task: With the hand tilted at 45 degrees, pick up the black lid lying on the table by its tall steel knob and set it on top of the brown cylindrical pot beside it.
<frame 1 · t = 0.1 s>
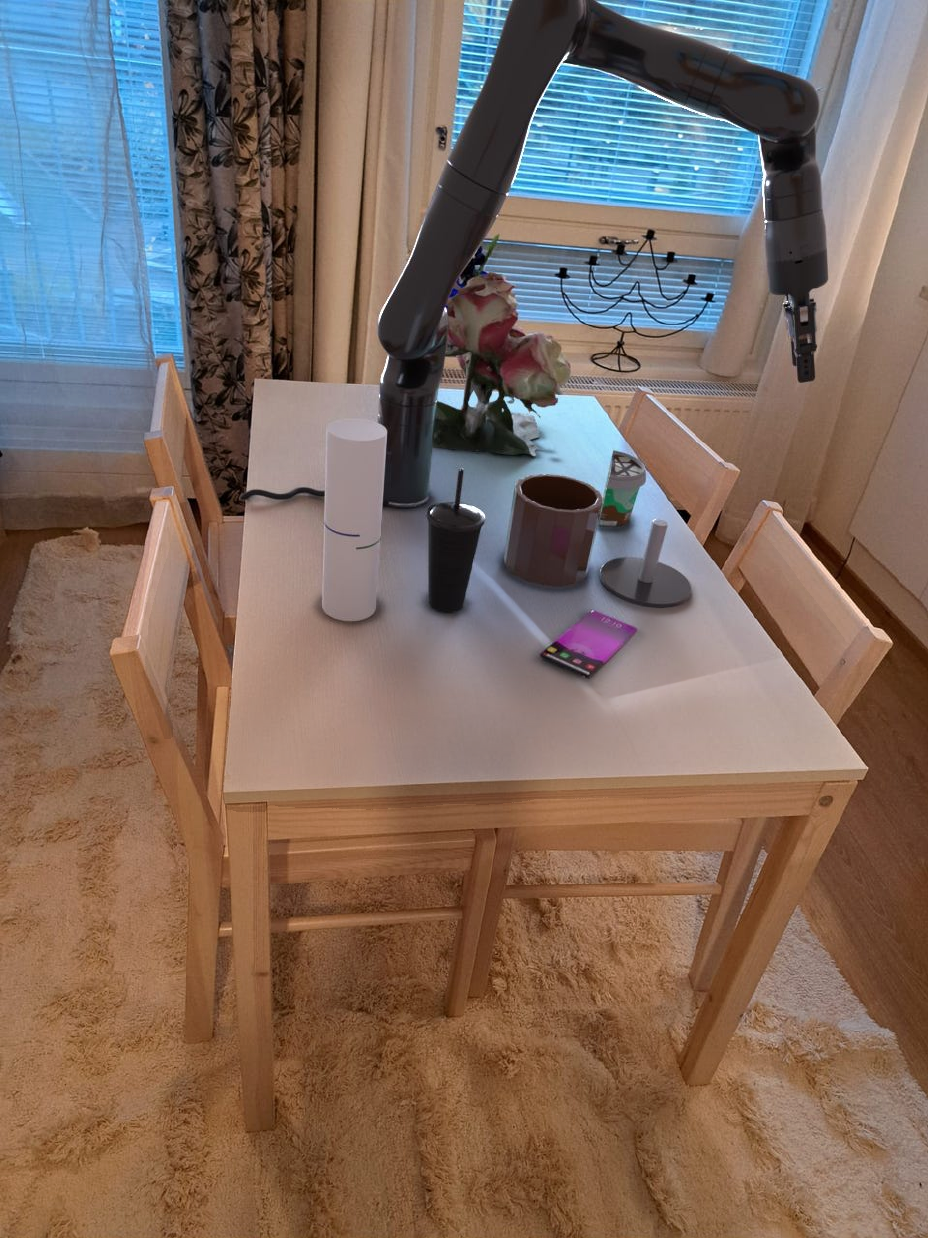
hand: (803, 372, 122), 31 cm above the table, tool tilted 20°, fingers open, 8 cm apart
lid: (644, 582, 131), point 1 cm above the table
rose bouquet: (484, 430, 178), on the table
brown cylindrical pot: (545, 567, 132), on the table
food container: (617, 520, 149), on the table
drinking cup: (445, 604, 121), on the table
smartphone: (589, 646, 116), on the table
cylindrical container: (348, 607, 117), on the table
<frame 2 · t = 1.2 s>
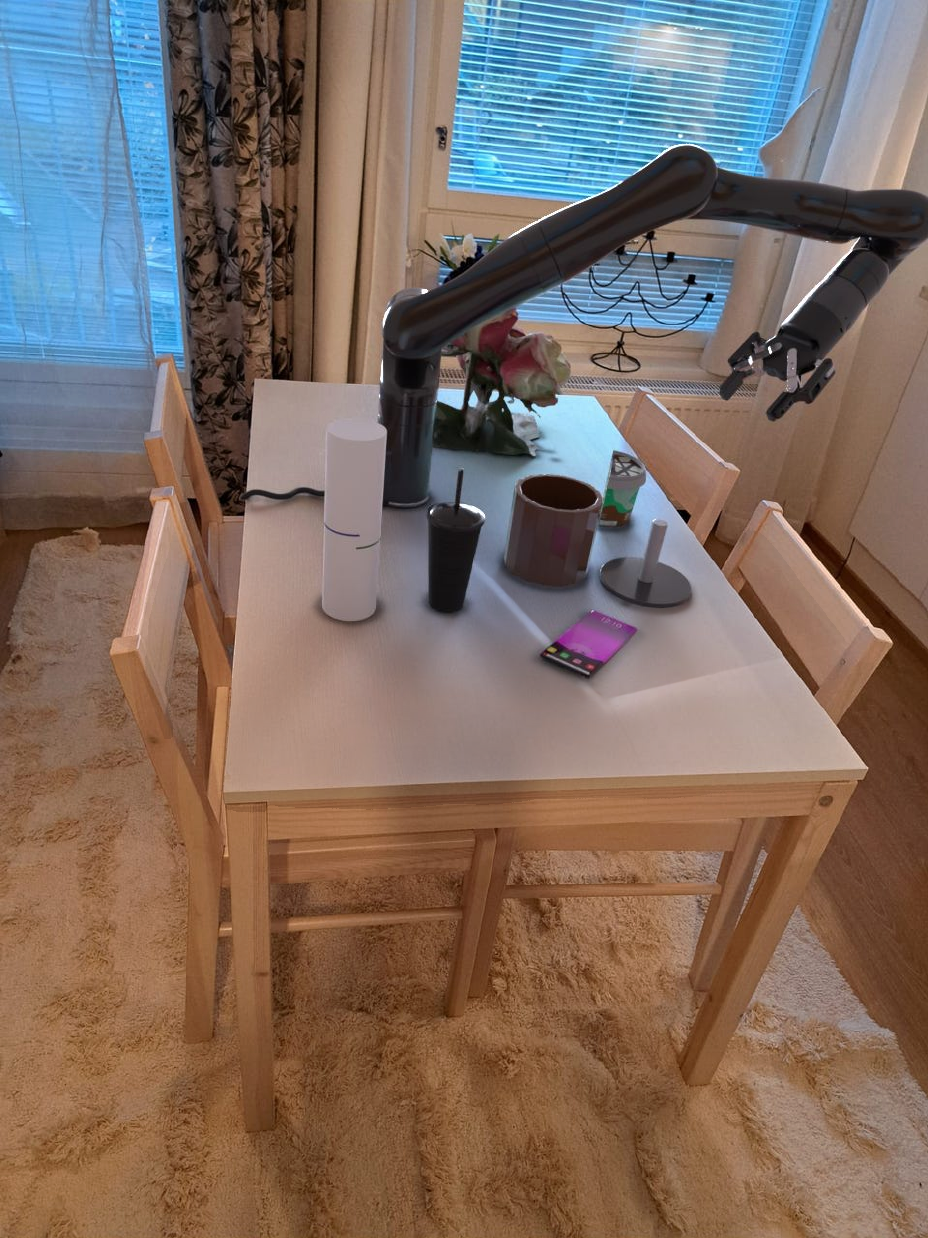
hand: (745, 406, 122), 27 cm above the table, tool tilted 45°, fingers open, 8 cm apart
nothing on the table moved.
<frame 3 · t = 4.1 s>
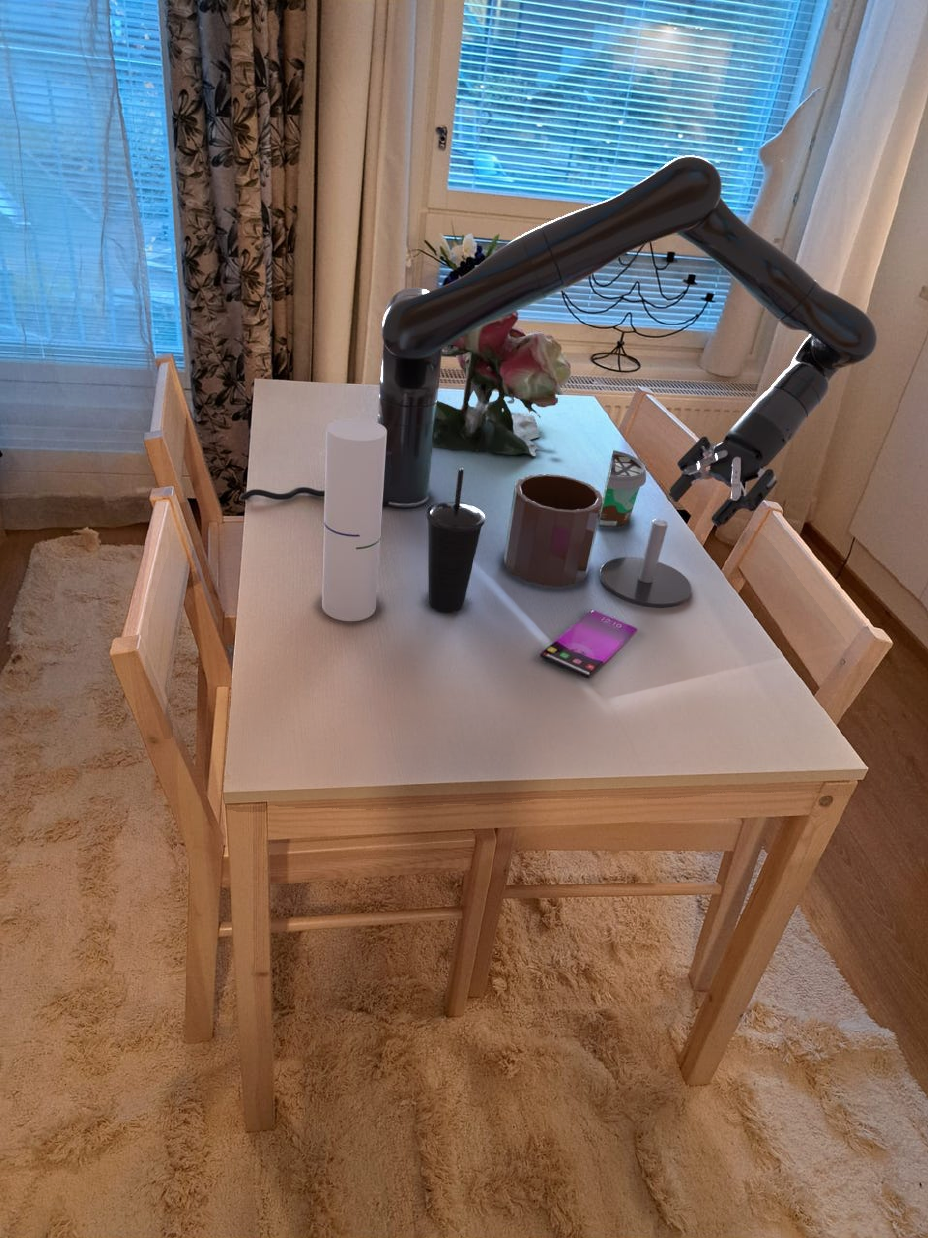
hand: (692, 510, 128), 11 cm above the table, tool tilted 45°, fingers open, 8 cm apart
nothing on the table moved.
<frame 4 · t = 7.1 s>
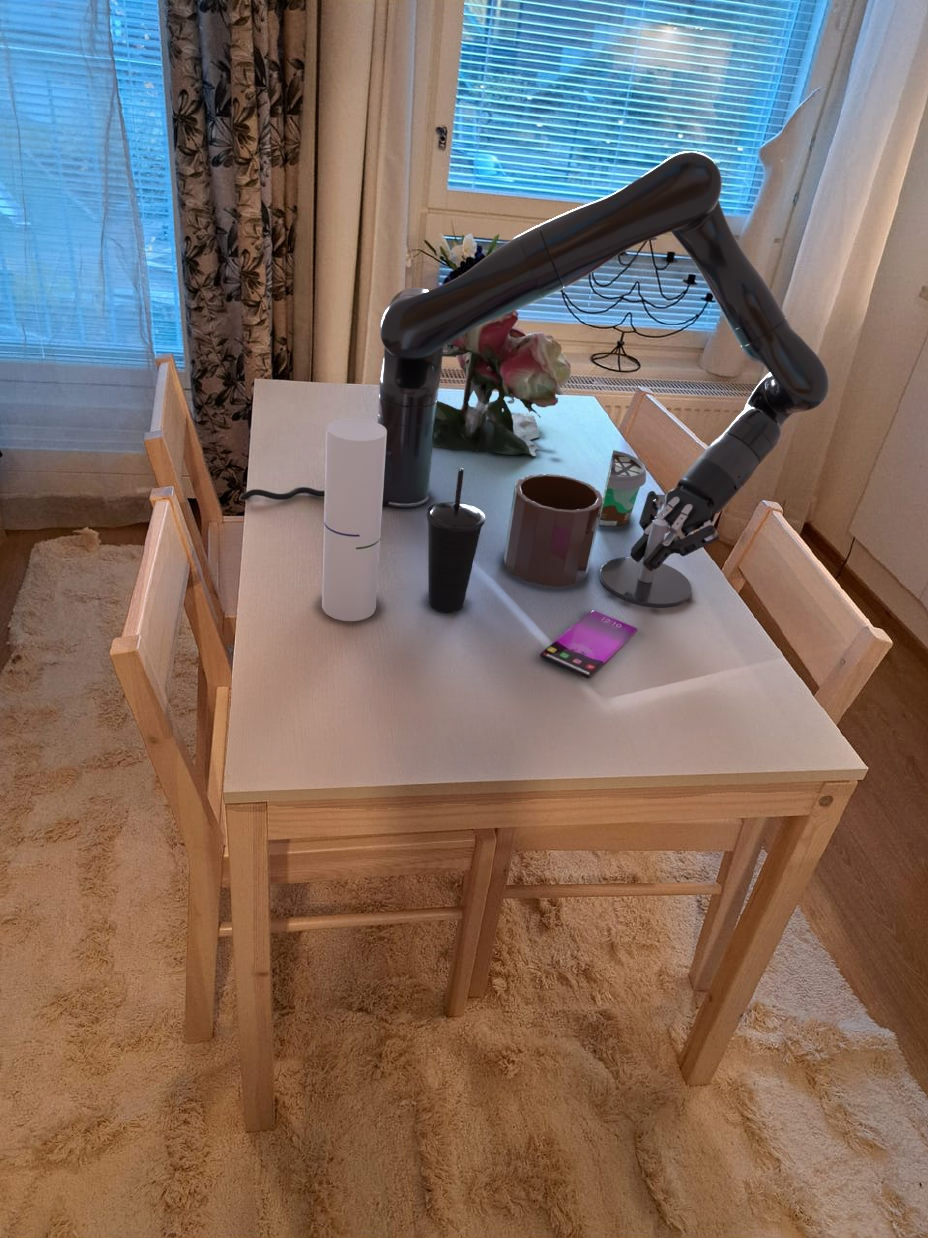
hand: (640, 562, 127), 5 cm above the table, tool tilted 45°, fingers closed on lid
lid: (644, 582, 131), point 1 cm above the table, touching gripper
everything else where it was.
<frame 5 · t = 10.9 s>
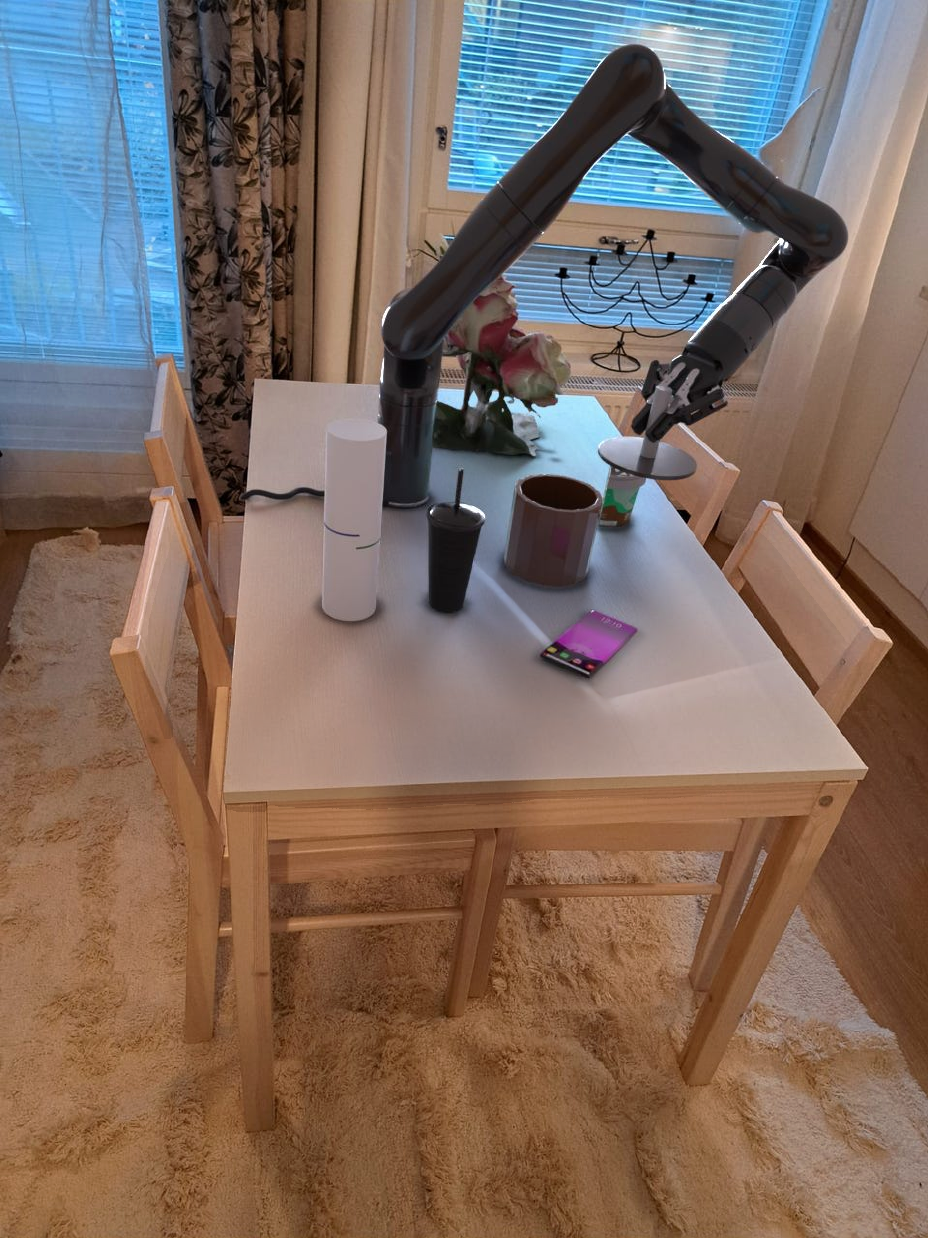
hand: (642, 434, 117), 24 cm above the table, tool tilted 45°, fingers closed on lid
lid: (646, 459, 121), point 20 cm above the table, touching gripper
everything else where it was.
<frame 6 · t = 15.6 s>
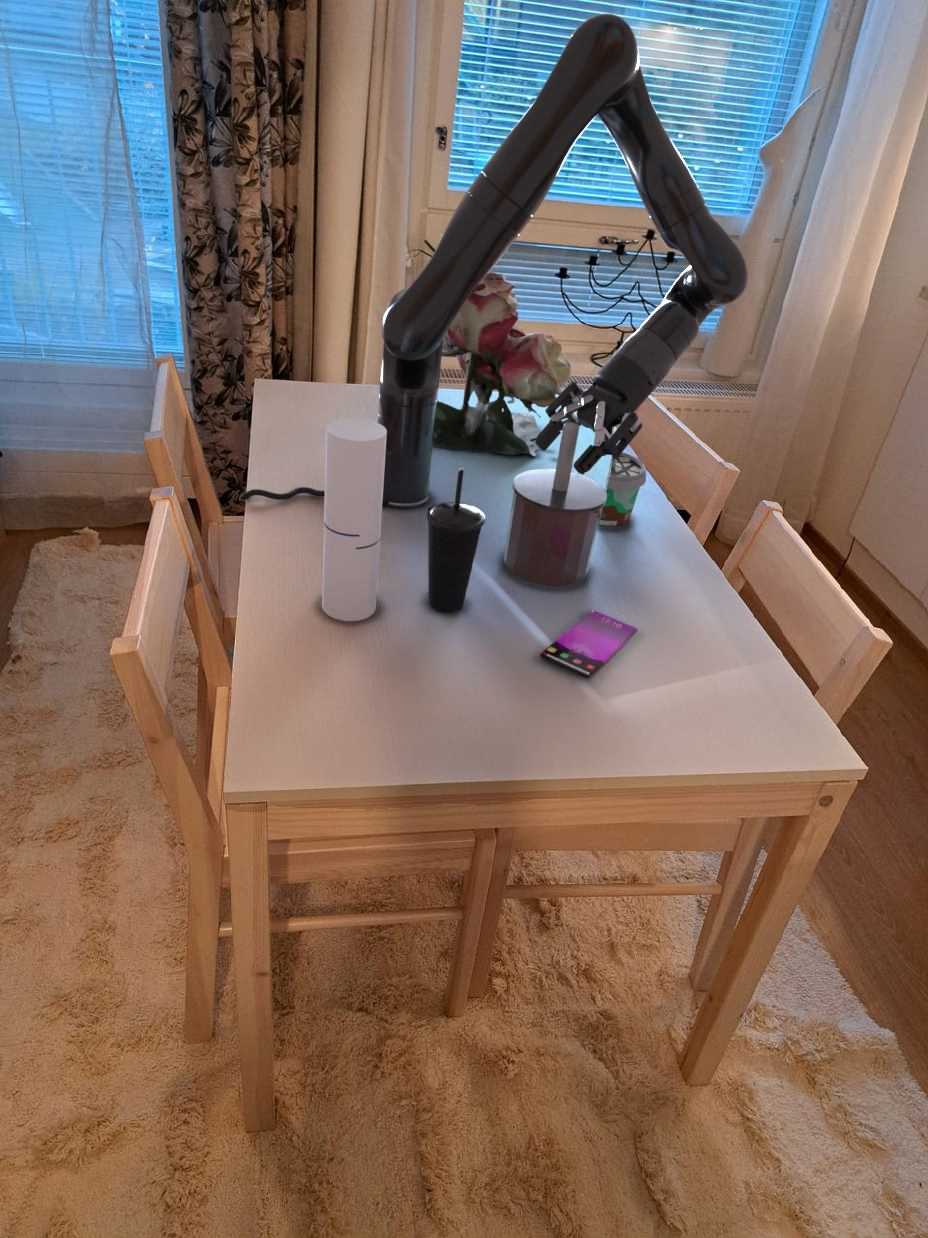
hand: (557, 458, 122), 18 cm above the table, tool tilted 45°, fingers open, 8 cm apart
lid: (559, 492, 126), point 12 cm above the table, touching brown cylindrical pot
everything else where it was.
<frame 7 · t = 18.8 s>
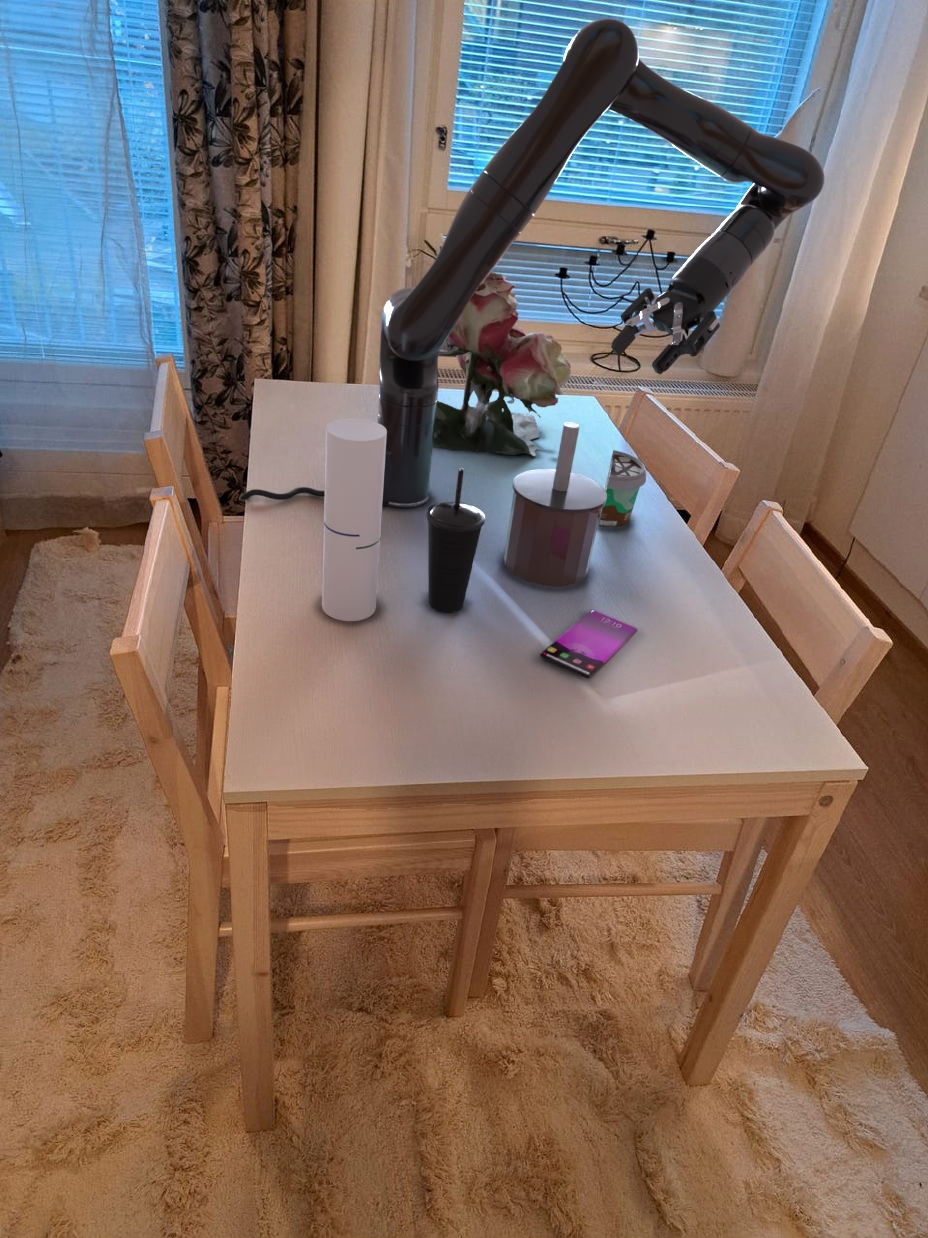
hand: (634, 360, 124), 30 cm above the table, tool tilted 45°, fingers open, 8 cm apart
nothing on the table moved.
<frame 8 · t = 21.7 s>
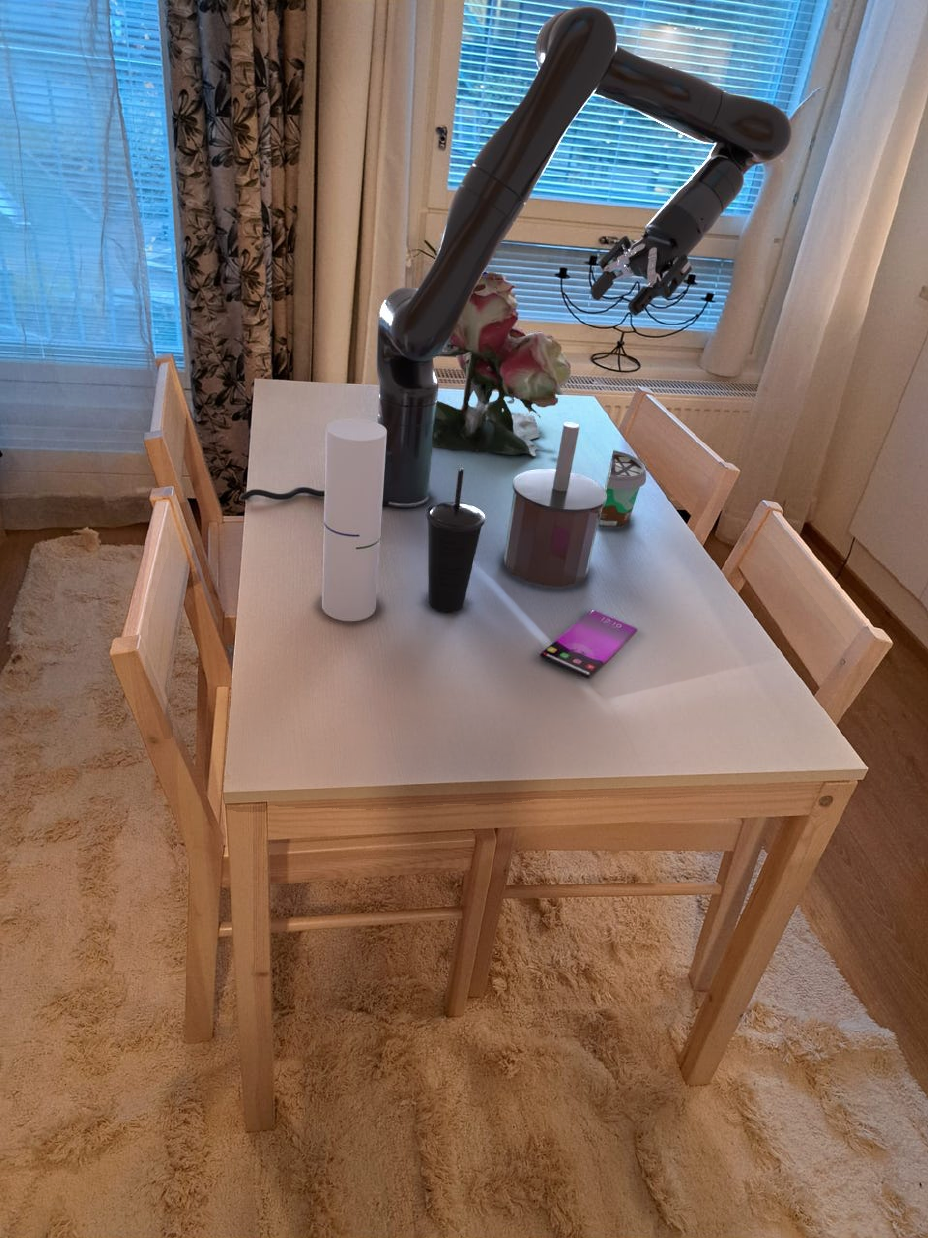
hand: (612, 303, 131), 35 cm above the table, tool tilted 45°, fingers open, 8 cm apart
nothing on the table moved.
at the end: lid 0.1 cm off-centre on the brown cylindrical pot, point 12.5 cm above the brown cylindrical pot's base; lid tilted 0°; the gripper is holding nothing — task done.
